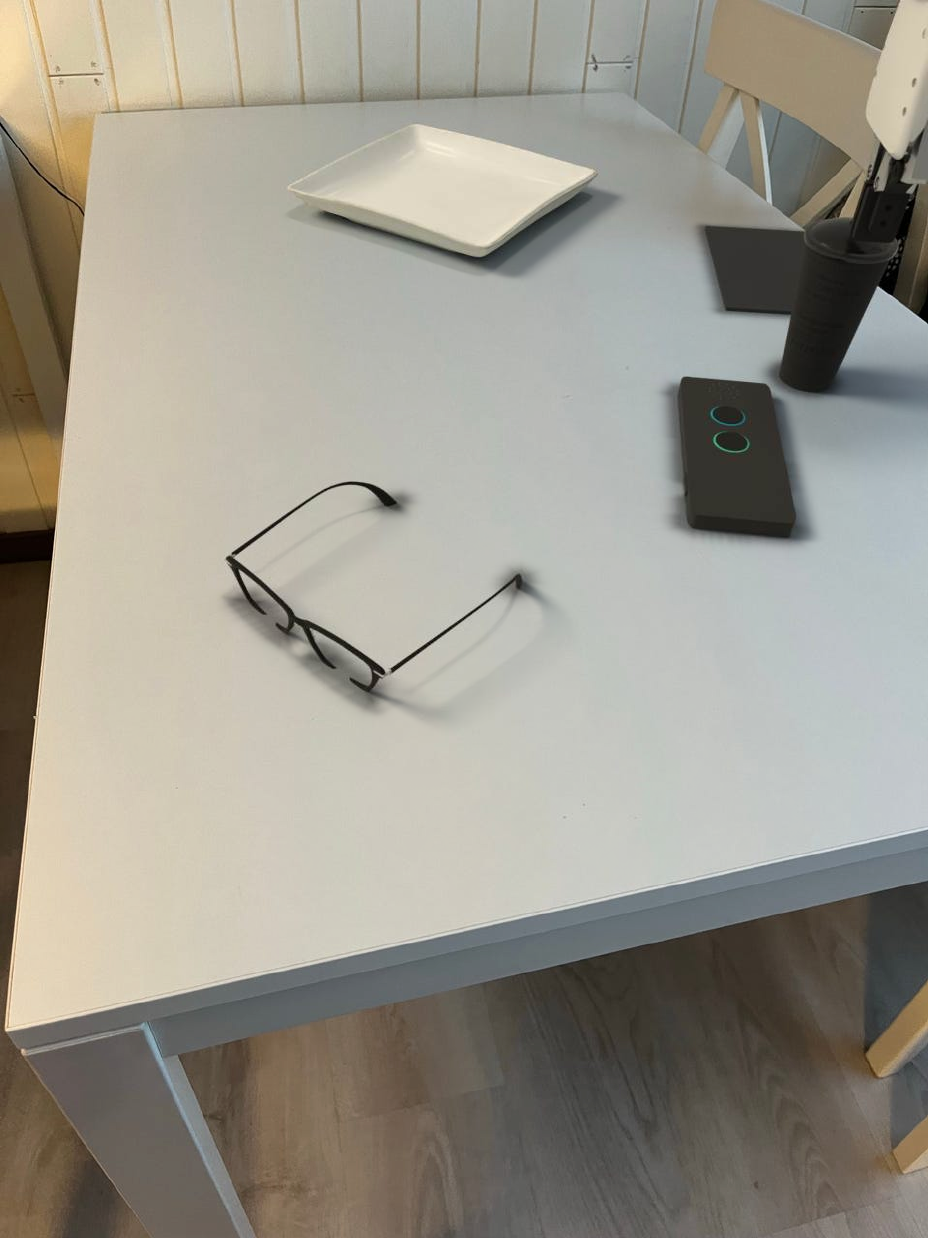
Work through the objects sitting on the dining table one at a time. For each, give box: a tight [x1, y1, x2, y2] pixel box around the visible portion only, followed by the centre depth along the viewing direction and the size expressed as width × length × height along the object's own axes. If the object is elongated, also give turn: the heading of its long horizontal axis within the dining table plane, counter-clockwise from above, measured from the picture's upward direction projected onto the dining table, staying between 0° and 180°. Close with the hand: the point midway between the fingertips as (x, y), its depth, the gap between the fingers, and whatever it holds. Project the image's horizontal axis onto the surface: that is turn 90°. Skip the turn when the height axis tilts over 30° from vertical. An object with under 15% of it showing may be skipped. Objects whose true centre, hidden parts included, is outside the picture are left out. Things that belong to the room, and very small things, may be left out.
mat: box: [704, 225, 805, 316], centre depth 105 cm, size 20×12×1 cm, turn 176°
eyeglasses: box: [224, 480, 523, 692], centre depth 66 cm, size 16×16×4 cm
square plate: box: [286, 123, 599, 258], centre depth 114 cm, size 27×27×4 cm
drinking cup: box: [778, 177, 899, 393], centre depth 83 cm, size 8×8×20 cm
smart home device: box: [677, 376, 797, 539], centre depth 80 cm, size 8×2×20 cm
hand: (870, 237), depth 76 cm, fingers closed
